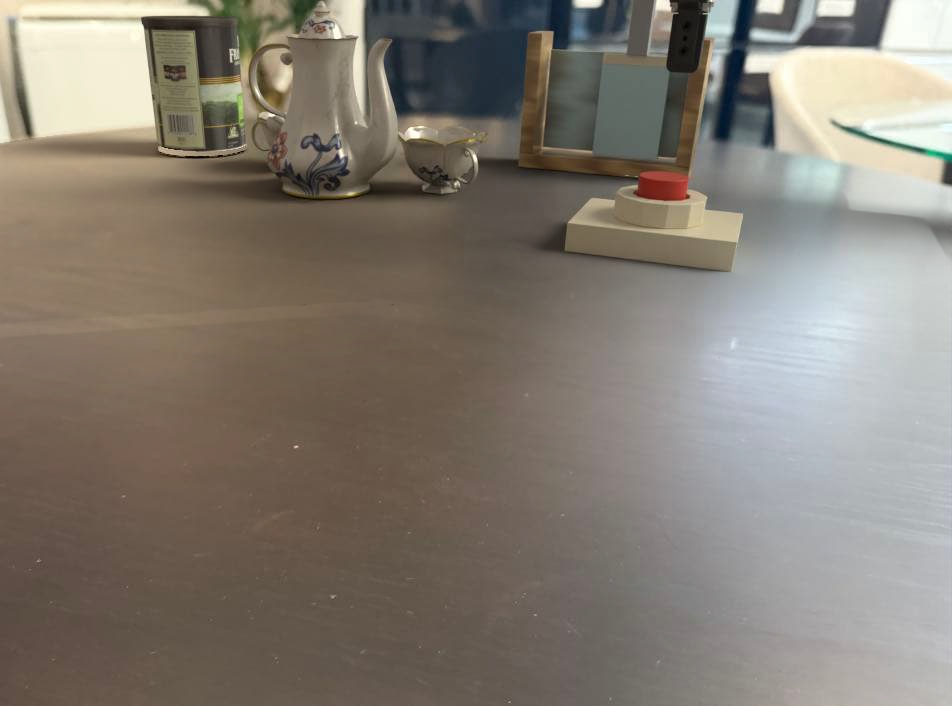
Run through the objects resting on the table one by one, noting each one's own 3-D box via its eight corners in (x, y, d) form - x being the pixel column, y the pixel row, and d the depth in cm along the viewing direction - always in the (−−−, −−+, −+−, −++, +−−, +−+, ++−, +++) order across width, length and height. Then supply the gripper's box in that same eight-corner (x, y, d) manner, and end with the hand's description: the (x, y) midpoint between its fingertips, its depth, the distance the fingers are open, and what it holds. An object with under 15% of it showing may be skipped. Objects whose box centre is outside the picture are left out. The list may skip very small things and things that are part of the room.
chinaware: (505, 201, 84) (525, 19, 78) (434, 220, 70) (450, 0, 64) (275, 170, 95) (276, 9, 89) (174, 181, 81) (167, -9, 75)
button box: (738, 240, 66) (748, 190, 65) (731, 272, 59) (742, 216, 57) (588, 223, 70) (593, 175, 69) (564, 251, 63) (569, 198, 61)
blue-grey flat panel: (658, 158, 88) (685, -23, 80) (656, 160, 87) (683, -23, 79) (594, 152, 90) (614, -24, 83) (591, 155, 89) (611, -24, 81)
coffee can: (244, 141, 103) (235, 15, 97) (249, 157, 94) (240, 19, 88) (157, 143, 101) (143, 14, 94) (154, 159, 92) (138, 18, 85)
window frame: (692, 174, 90) (714, 37, 84) (687, 182, 86) (711, 39, 80) (529, 159, 96) (540, 30, 90) (518, 166, 92) (528, 32, 86)
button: (687, 197, 64) (691, 173, 63) (682, 207, 61) (686, 182, 60) (640, 192, 65) (643, 169, 64) (632, 201, 62) (636, 178, 61)
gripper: (791, -262, 45) (732, 83, 53) (791, -214, 56) (742, 66, 63) (648, -250, 47) (612, 78, 55) (675, -207, 58) (642, 62, 66)
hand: (682, 71), depth 59 cm, fingers closed
